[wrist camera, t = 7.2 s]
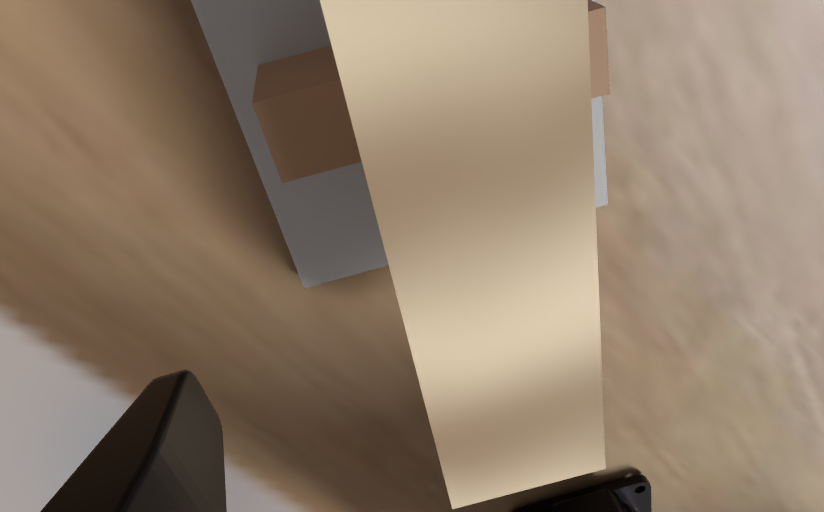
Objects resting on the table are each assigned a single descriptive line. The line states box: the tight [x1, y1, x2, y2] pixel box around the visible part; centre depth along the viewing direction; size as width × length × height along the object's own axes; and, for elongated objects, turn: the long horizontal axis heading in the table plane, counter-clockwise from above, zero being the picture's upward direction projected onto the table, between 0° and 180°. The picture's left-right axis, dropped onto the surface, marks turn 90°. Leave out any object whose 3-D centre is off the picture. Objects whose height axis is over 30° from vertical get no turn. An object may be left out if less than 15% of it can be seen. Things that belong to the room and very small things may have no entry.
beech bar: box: [320, 0, 606, 509], centre depth 13 cm, size 18×4×4 cm, turn 11°
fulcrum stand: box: [191, 0, 610, 289], centre depth 16 cm, size 12×10×4 cm
